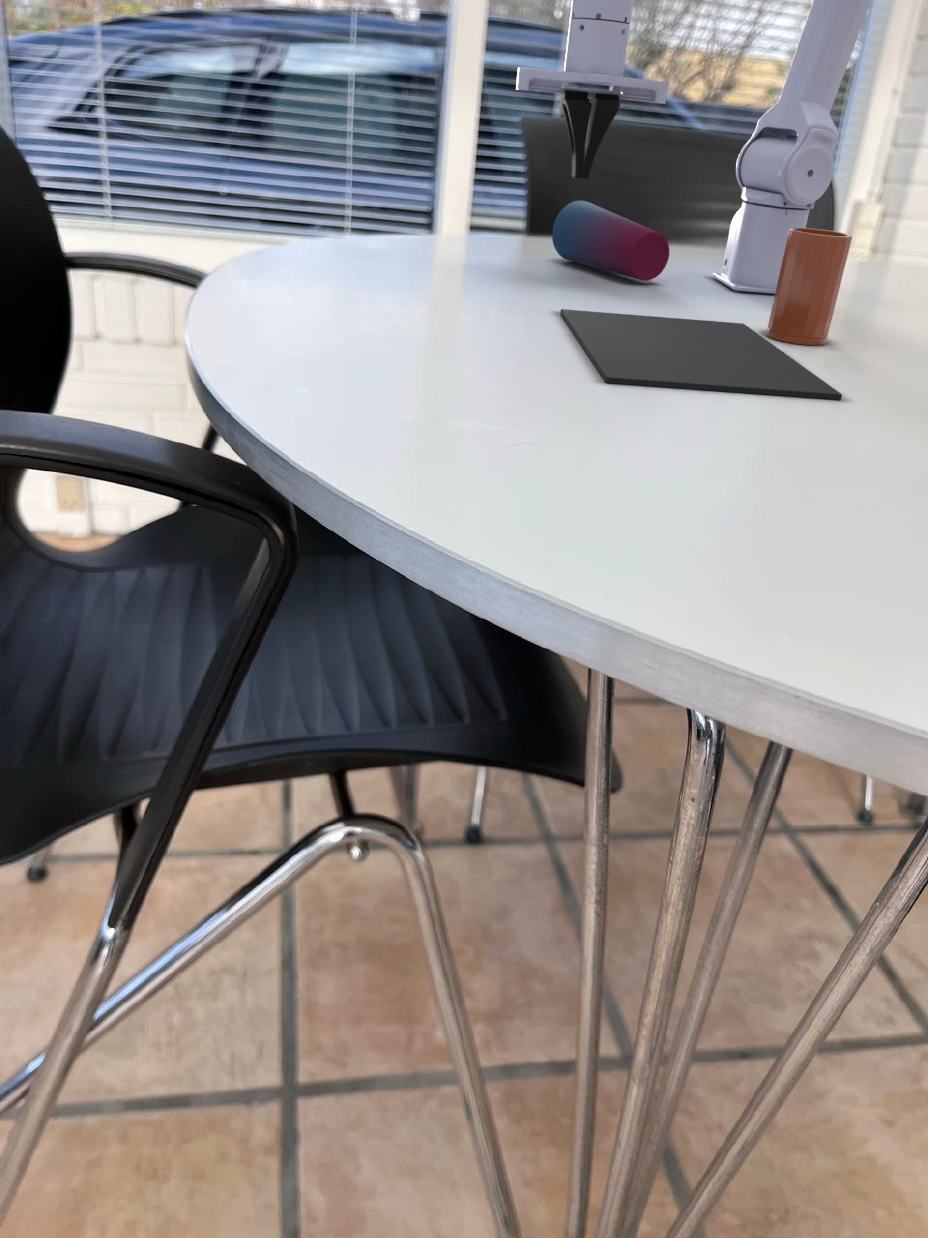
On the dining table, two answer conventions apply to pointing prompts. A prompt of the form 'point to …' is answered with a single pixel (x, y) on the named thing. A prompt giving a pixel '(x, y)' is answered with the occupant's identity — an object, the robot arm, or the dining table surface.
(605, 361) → the mat
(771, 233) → the robot arm
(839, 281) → the small cup
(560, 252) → the cup
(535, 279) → the dining table surface
